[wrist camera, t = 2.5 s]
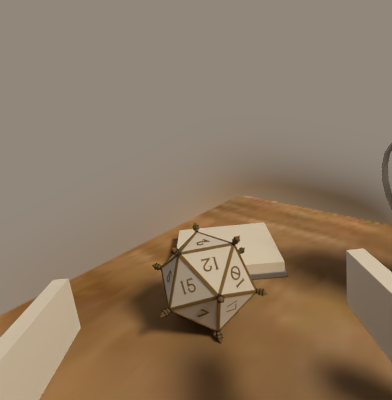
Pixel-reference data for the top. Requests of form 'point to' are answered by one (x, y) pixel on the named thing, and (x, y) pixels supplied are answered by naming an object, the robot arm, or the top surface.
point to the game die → (207, 281)
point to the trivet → (248, 247)
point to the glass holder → (386, 175)
